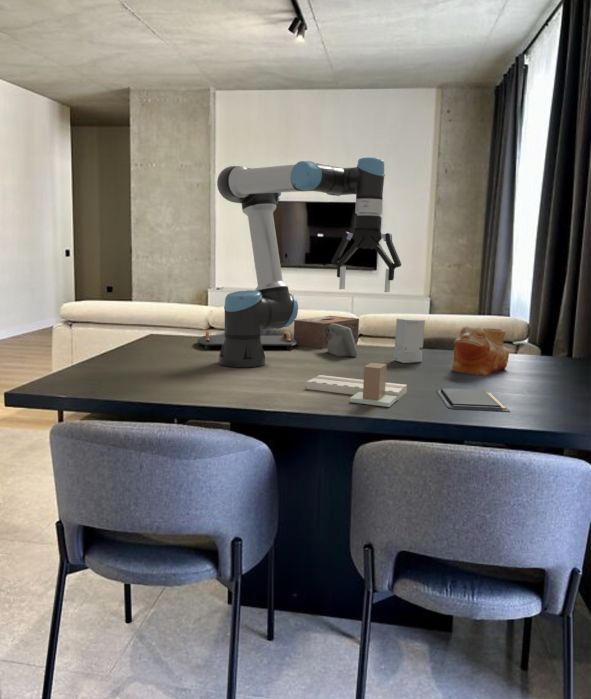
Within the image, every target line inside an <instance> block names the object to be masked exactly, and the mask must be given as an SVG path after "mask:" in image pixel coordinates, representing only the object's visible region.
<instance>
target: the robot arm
mask: <svg viewBox="0 0 591 699" xmlns="http://www.w3.org/2000/svg"><path fill="white" fill-rule="evenodd" d="M385 176H386V175H385V161H384V160H383V159H381V158H380V157H379V158H378V157H361V158H359V159H358V161H357V165H356V166H355V167H338V166H334V165H328V164H321V163H317V162H314V161H309V160H306V161H304V160H301V161H298V162H296V163H295V164H287V165H275V166H263V167H254V168H250V167H245V166H242V165H232V166H228V167H227V166H226V167H224V168H223V169H222V170H221V172H220V173H219V174H218V176H217V181H216V186H217V190H218V192H219V194H220V195H221V197H223V198H224V199H225V200H226V201H228V202H231V203H236V204H241V210H242V213H243V214H244V215H246V216H247V220H248V226H249V232H250V233H249V234H250V241H251V246H252V254H253V261H254V268H255V275H256V280H257V286H256V288H255V289H253V290H251V289H249V290H248V289H247V290H239V291H233V292H230V293H228V294H227V295H226V296H225V299H224V305H223V310H224V335H225V336H224V343H223V345H221V348H220V351H219V355H218V364H219V365H221V366H223V367H224V366H225V367H228V368H229V367H230V368H231V367H232V368H256V367H261V366H264V365H266V354H265V351H264V348H263V346H262V344H261V340H260V336H261V331H262V330H275V329H277V330H278V329H283V328H287V327H289V326H291V325H292V324H294V320H297V316H298V314H299V312H298V311H299V303H298V300H297V297H295V296H294V294H291V293H290V291H289V286H288V285H287V284H286V283H284V282H283V281H284V280H283V275H282V265H281V259H280V253H279V246H278V238H277V233H276V227H275V226H276V224H275V219H274V212H275V210H276V209H277V204H278V202H279V201H280V199H281V198H280V196H281V195H282V193H290V192H291V193H292V192H293V193H294V192H319V193H323V194H327V195H329V196H337V197H340V196H348V195H350V196H351V195H355V210H354V212H355V214H356V215H355V217H354V229H353V230H354V231H353V233H351V232H348V231H344V232H343V234H342V239H341V242H340V243H339V244H338V247H337V250H335V253H334V255H333V257H332V259H331V261H330V262H331V264H332V265H335V266H336V277H337V278H339V282H338V283H339V285H338V289H339V290H345V289H346V273H347V272H346V270H347V269H346V268H347V266H345V264H346V263H347V262H348V261H349V259H350V258H351V257H352V256H353V255H354V254H355V252H356V251H357V250H358V249H359V248H360V249H369V250H370V249H371V250H373V249H374V250H375V251H376V252H377V253H378V255H379V256H380V258H381V259H382V260H383V262H384V263H385V265H386V266H387V267H388V268H386V269H385V277H384V278H385V279H384V290H383V291H384V293H389V292H391V290H390V289H391V281H394V279H395V269H396V268H399V267H401V266H402V262H401V260H400V257H399V254H398V252H397V249H396V248H395V246H394V243H393V235H392V233H389V232H387V233H382V216H381V215H382V214H383V201H384V200H383V199H384V198H383V194H384V184H385ZM351 239H353V240H354V242H353V243H352V245H351V246H350V247H349V249H348V250H347V251H346V253H345V254H343V253H344V251H345V249H346V248H347V246H348V244H349V242H350V241H351ZM382 239H383V241H384V242H385V244H386V247H387V249H388V252H389V253H390V254H389V255H390V257H391V258H392V259H391V258H390V257H389V255H388V254H387V252H385V250H384V248H383V247H382V245H381V243H380V242H381V240H382Z"/></svg>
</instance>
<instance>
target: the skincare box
mask: <svg viewBox="0 0 591 699" xmlns="http://www.w3.org/2000/svg"><path fill="white" fill-rule="evenodd" d="M425 323H426V320H425V319H418V318H402V317H401V318H400V317H399V318H396V322H395V324H396V325H395V336H394V337H395V338H394V353H393V354H394V356H393V360H394V361H397V362H400V363H402V364H405V363H408V364H409V363H422V362H423V352H424V351H423V348H424V338H425V337H424V336H425V325H426V324H425Z"/></svg>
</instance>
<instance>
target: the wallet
mask: <svg viewBox="0 0 591 699" xmlns="http://www.w3.org/2000/svg"><path fill="white" fill-rule="evenodd" d="M435 392H436V394H437V395H438V396H439V398H440V399H441V400H442V402H443V404H444V405H445V408H447V409H449V410H452V411H453V410H454V411H455V410H456V411H471V412H472V411H473V412H474V411H475V412H494V413H496V412H497V413H511V410H510V409H508V408H507V407H506V406H505V405H504V404H502V402H501V401H500V400H498V398H496V397H495V396H494V395H493V394H492V393H491V392H487V391H486V390H483V389H470V388H469V389H467V388H463V389H462V388H439V389H437V390H435Z"/></svg>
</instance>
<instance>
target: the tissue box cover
mask: <svg viewBox="0 0 591 699" xmlns="http://www.w3.org/2000/svg"><path fill="white" fill-rule="evenodd" d="M331 323H334V324H338V325H341V326H345V327H348V328H350V329H351V331H352V334H353V338H354V341H355V343H358V342H359V333H360V332H359V328H360V319H359V318H357V317H356V318H355V317H347V316H346V317H345V316H338V315H327V316H325V315H324V316H318V317H317V316H316V317H310V318H309V317H308V318H301V319H295V320H294V322H293V338H294V339H296V340H297V344H296V346H297V345H298V346H304V347H311V348H317V349H328V341H329V340H330V339H331V338H332V336H331V332H330V329H329V325H330V324H331Z"/></svg>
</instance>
